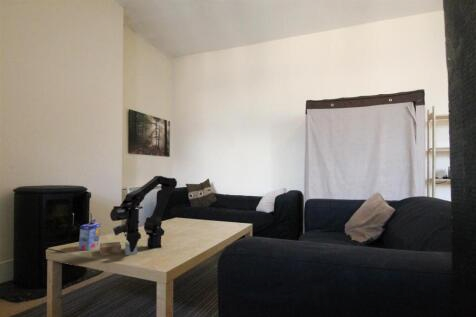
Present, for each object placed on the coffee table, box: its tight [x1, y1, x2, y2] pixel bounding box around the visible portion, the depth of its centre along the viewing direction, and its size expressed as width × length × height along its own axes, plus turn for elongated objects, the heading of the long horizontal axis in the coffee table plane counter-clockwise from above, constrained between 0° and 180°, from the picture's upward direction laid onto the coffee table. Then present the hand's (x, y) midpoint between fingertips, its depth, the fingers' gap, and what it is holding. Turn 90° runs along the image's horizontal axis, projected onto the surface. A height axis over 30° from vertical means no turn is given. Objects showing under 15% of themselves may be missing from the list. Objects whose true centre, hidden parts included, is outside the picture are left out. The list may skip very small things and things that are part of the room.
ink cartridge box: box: [78, 219, 101, 251], centre depth 136 cm, size 10×6×14 cm, turn 178°
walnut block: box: [99, 241, 122, 256], centre depth 128 cm, size 9×9×4 cm
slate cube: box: [124, 241, 138, 256], centre depth 126 cm, size 5×5×5 cm
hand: (131, 250), depth 126 cm, fingers closed on slate cube, 5 cm apart
